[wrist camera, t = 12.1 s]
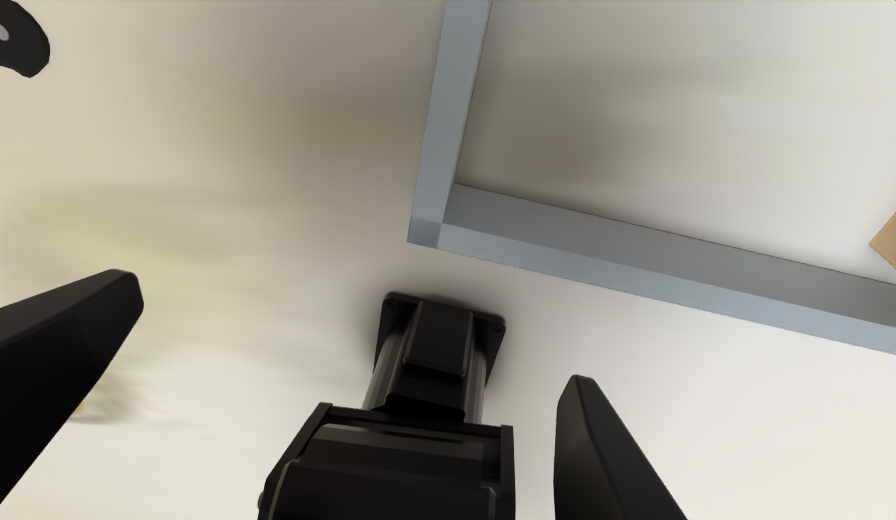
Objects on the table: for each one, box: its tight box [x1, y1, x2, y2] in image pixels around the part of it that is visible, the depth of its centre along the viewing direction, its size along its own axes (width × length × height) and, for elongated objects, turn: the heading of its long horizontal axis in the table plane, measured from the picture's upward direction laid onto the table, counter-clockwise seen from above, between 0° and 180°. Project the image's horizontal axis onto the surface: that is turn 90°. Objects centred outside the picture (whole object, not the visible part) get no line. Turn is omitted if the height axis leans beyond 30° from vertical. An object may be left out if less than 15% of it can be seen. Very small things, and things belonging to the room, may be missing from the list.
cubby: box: [407, 0, 896, 355], centre depth 15 cm, size 16×22×4 cm
